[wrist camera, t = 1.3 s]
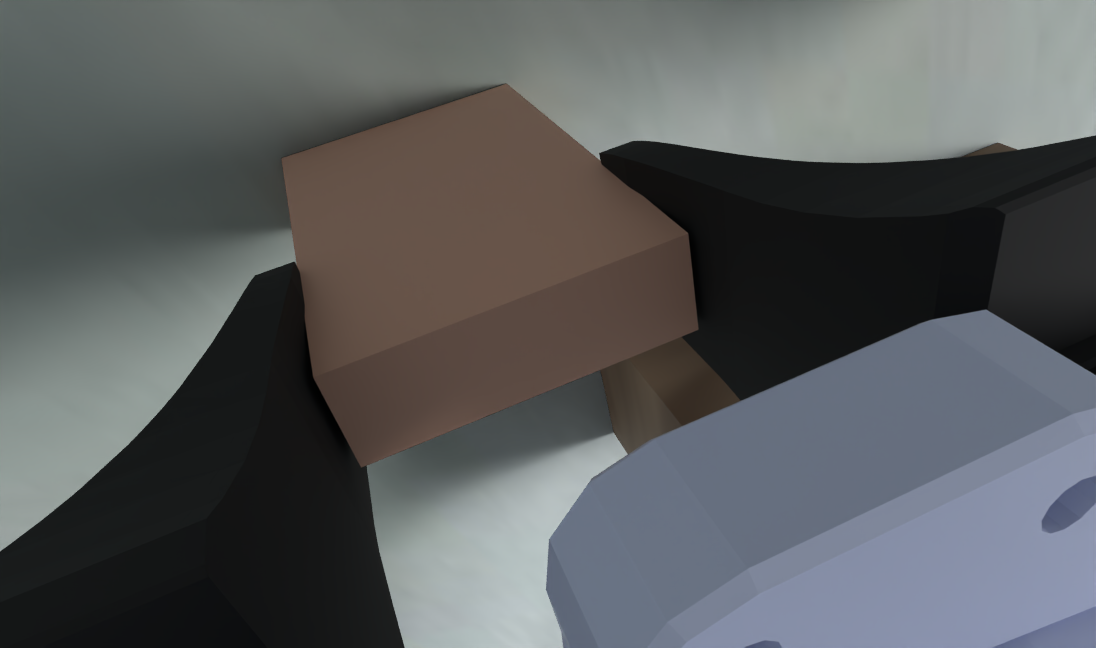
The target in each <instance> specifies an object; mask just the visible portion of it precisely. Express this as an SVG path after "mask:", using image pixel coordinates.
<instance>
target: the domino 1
mask: <svg viewBox="0 0 1096 648" xmlns="http://www.w3.org/2000/svg"><path fill="white" fill-rule="evenodd" d="M281 159H282V166H283V173H284V180H285V187H286V194H287V200H288V207H289V214H290V221H291V228H292V235H293V242H294V249H295V256H296V262H297V267H298V269H299V271H300V276H301V283H302V289H303V296H304V303H305V324H306V331H307V338H308V345H309V352H310V359H311V366H312V372H313V378H314V380H315V382H316V384H317V385H318V387H319V389H320V391H321V393H322V395H323V397H324V399H325V400H326V402H327V404H328V406H329V408H330V410H331V412H332V414H333V416H334V417H335V419H336V421H337V423H338V425H339V427H340V429H341V431H342V432H343V434H344V436H345V438H346V440H347V442H348V444H349V446H350V447H351V449H352V451H353V453H354V455H355V457H356V459H357V461H358V462H359V464H360V466H361V468H362V467H364V466H367V465H369V464H372V463H374V462H377V461H379V460H381V459H384V458H386V457H389V456H391V455H394V454H396V453H399V452H401V451H403V450H406V449H408V448H411V447H413V446H416V445H418V444H420V443H423V442H425V441H428V440H430V439H433V438H435V437H438V436H440V435H442V434H445V433H447V432H450V431H452V430H455V429H457V428H460V427H462V426H464V425H467V424H469V423H472V422H474V421H477V420H479V419H482V418H484V417H486V416H489V415H491V414H494V413H496V412H499V411H501V410H504V409H506V408H508V407H511V406H513V405H516V404H518V403H521V402H523V401H526V400H528V399H530V398H533V397H535V396H538V395H540V394H543V393H545V392H548V391H550V390H552V389H555V388H557V387H560V386H562V385H565V384H567V383H570V382H572V381H574V380H577V379H579V378H582V377H584V376H587V375H589V374H592V373H594V372H596V371H599V370H601V369H604V368H606V367H609V366H611V365H613V364H616V363H618V362H621V361H623V360H626V359H628V358H631V357H633V356H635V355H638V354H640V353H643V352H645V351H648V350H650V349H653V348H655V347H657V346H660V345H662V344H665V343H667V342H670V341H672V340H675V339H677V338H679V337H682V336H684V335H687V334H689V333H692V332H694V331H697V330H698V320H697V311H696V301H695V292H694V282H693V273H692V263H691V254H690V245H689V235H688V233H687V232H686V231H685V230H684V229H682V228H681V227H680V226H679V225H678V224H676V223H675V222H674V221H673V220H671V219H670V218H669V217H668V216H667V215H665V214H664V213H663V212H662V211H661V210H659V209H658V208H657V207H656V206H655V205H653V204H652V203H651V202H650V201H648V200H647V199H646V198H645V197H644V196H642V195H641V194H639V193H637V192H636V191H634V190H633V189H631V188H630V187H628V186H627V185H626V184H624V183H623V182H622V181H621V180H620V179H618V178H617V177H616V176H615V175H614V174H612V173H611V172H610V171H609V170H608V169H606V168H605V167H604V166H603V165H602V164H601V161H600V160H599V159H597V158H596V157H595V156H594V155H593V154H591V153H590V152H589V151H588V150H587V149H585V148H584V147H583V146H582V145H580V144H579V143H578V142H577V141H576V140H574V139H573V138H572V137H571V136H570V135H568V134H567V133H566V132H565V131H563V130H562V129H561V128H560V127H559V126H557V125H556V124H555V123H554V122H553V121H551V120H550V119H549V118H548V117H547V116H545V115H544V114H543V113H542V112H540V111H539V110H538V109H537V108H536V107H534V106H533V105H532V104H531V103H530V102H528V101H527V100H526V99H525V98H523V97H522V96H521V95H520V94H519V93H517V92H516V91H515V90H514V89H513V88H511V87H510V86H509V85H508V84H504V85H501V86H498V87H495V88H492V89H489V90H486V91H483V92H480V93H477V94H474V95H471V96H468V97H465V98H462V99H459V100H456V101H453V102H450V103H447V104H444V105H441V106H438V107H435V108H432V109H429V110H426V111H423V112H420V113H417V114H414V115H411V116H408V117H405V118H402V119H399V120H396V121H392V122H389V123H386V124H383V125H380V126H377V127H374V128H371V129H368V130H365V131H362V132H359V133H356V134H353V135H350V136H347V137H344V138H341V139H338V140H335V141H332V142H329V143H326V144H323V145H320V146H317V147H314V148H311V149H308V150H305V151H302V152H299V153H296V154H293V155H290V156H287V157H284V158H281Z"/></svg>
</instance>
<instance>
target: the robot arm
mask: <svg viewBox="0 0 1096 648" xmlns="http://www.w3.org/2000/svg"><path fill="white" fill-rule="evenodd" d="M599 154H600V160H601V164H602V165H603V166H604V167H605V168H606V169H608V170H609V171H610V172H611V173H612V174H614V175H615V176H616V177H617V178H618V179H620V180H621V181H622V182H623V183H624V184H626V185H627V186H628V187H630V188H631V189H633V190H634V191H636V192H637V193H639V194H641V195H642V196H644V197H645V198H646V199H647V200H648V201H650V202H651V203H652V204H653V205H655V206H656V207H657V208H658V209H659V210H661V211H662V212H663V213H664V214H665V215H667V216H668V217H669V218H670V219H671V220H673V221H674V222H675V223H676V224H678V225H679V226H680V227H681V228H682V229H684V230H685V231H686V232H687V233H688V235H689V245H690V254H691V263H692V273H693V282H694V292H695V301H696V311H697V320H698V330H697V331H694V332H692V333H689V334H687V335H684V336H682V338H683V339H684V340H685V341H686V342H687V343H688V344H689V345H690V346H691V347H692V349H693V350H694V351H695V352H696V353H697V354H698V355H699V356H700V357H701V358H702V359H703V360H704V361H705V362H706V363H707V364H708V365H709V366H710V367H711V368H712V369H713V370H714V371H715V372H716V373H717V374H718V375H719V376H720V377H721V379H722V380H723V381H724V382H725V383H726V384H727V385H728V387H729V388H730V389H731V390H732V391H733V392H734V393H735V395H736V396H737V397H738V398H739V399H740V401H739V402H737V403H735V404H732V405H730V406H728V407H725V408H723V409H721V410H718V411H716V412H714V413H711V414H709V415H707V416H705V417H702V418H700V419H698V420H695V421H693V422H691V423H688V424H686V425H684V426H681V427H679V428H677V429H674V430H672V431H670V432H668V433H665V434H663V435H661V436H658V437H656V438H654V439H651V440H649V441H648V442H646V443H645V444H643V445H642V446H640V447H639V448H637V449H636V450H634V451H633V452H631V453H630V454H628V455H627V456H625V457H624V458H622V459H621V460H619V461H617V462H616V463H614V464H613V465H611V466H610V467H608V468H607V469H605V470H604V471H602V472H601V473H599V474H598V475H596V476H595V477H593V478H592V479H591V481H590V482H589V483H588V485H587V486H586V488H585V489H584V491H583V492H582V493H581V495H580V496H579V498H578V499H577V501H576V502H575V503H574V505H573V506H572V508H571V509H570V511H569V512H568V513H567V515H566V516H565V518H564V519H563V520H562V522H561V523H560V525H559V526H558V528H557V529H556V530H555V532H554V533H553V535H552V536H551V538H550V539H549V550H548V567H547V583H546V591H547V593H548V596H549V599H550V602H551V604H552V607H553V610H554V613H555V616H556V618H557V621H558V624H559V627H560V629H561V632H562V640H563V648H1096V136H1091V137H1086V138H1080V139H1075V140H1070V141H1065V142H1059V143H1054V144H1049V145H1044V146H1038V147H1033V148H1028V149H1021V150H1014V151H1007V152H999V153H991V154H984V155H976V156H969V157H959V158H948V159H938V160H925V161H907V162H888V163H829V162H805V161H791V160H781V159H772V158H762V157H753V156H746V155H738V154H732V153H725V152H718V151H712V150H706V149H700V148H693V147H687V146H681V145H675V144H668V143H660V142H651V141H632V142H629V143H626V144H624V145H621V146H618V147H615V148H612V149H609V150H607V151H604V152H601V153H599ZM0 648H404V644H403V640H402V637H401V633H400V629H399V626H398V622H397V618H396V615H395V611H394V607H393V603H392V599H391V596H390V592H389V588H388V584H387V580H386V576H385V572H384V568H383V564H382V561H381V557H380V553H379V548H378V542H377V537H376V532H375V526H374V519H373V512H372V504H371V497H370V489H369V482H368V474H367V467H366V466H364V467H362V468H361V466H360V464H359V462H358V461H357V459H356V457H355V455H354V453H353V451H352V449H351V447H350V446H349V444H348V442H347V440H346V438H345V436H344V434H343V432H342V431H341V429H340V427H339V425H338V423H337V421H336V419H335V417H334V416H333V414H332V412H331V410H330V408H329V406H328V404H327V402H326V400H325V399H324V397H323V395H322V393H321V391H320V389H319V387H318V385H317V384H316V382H315V380H314V378H313V372H312V366H311V359H310V352H309V345H308V338H307V331H306V324H305V303H304V296H303V289H302V283H301V276H300V271H299V269H298V267H297V265H296V263H295V262H292V263H289V264H286V265H283V266H281V267H278V268H275V269H272V270H269V271H266V272H264V273H261V274H258V275H255V276H254V278H253V279H252V280H251V282H250V283H249V285H248V286H247V288H246V289H245V291H244V292H243V294H242V296H241V297H240V299H239V301H238V302H237V304H236V306H235V307H234V309H233V311H232V312H231V314H230V315H229V317H228V319H227V320H226V322H225V323H224V325H223V326H222V328H221V330H220V331H219V333H218V334H217V336H216V337H215V339H214V341H213V342H212V344H211V345H210V347H209V348H208V349H207V351H206V352H205V353H204V355H203V356H202V358H201V359H200V360H199V362H198V363H197V364H196V366H195V367H194V369H193V370H192V371H191V373H190V374H189V375H188V377H187V378H186V380H185V381H184V382H183V384H182V385H181V386H180V388H179V389H178V390H177V391H176V393H175V394H174V395H173V396H172V398H171V399H170V400H169V401H168V402H167V403H166V405H165V406H164V407H163V408H162V409H161V410H160V412H159V413H158V414H157V415H156V416H155V417H154V418H153V419H152V420H151V421H150V422H149V424H148V425H147V426H146V427H145V428H144V429H143V430H142V431H141V432H140V433H139V434H138V435H137V436H136V437H135V438H134V439H133V440H132V441H131V442H130V443H129V445H127V446H126V447H125V448H124V449H123V450H122V451H121V452H120V453H119V454H118V455H117V456H115V457H114V458H113V459H112V460H111V461H110V462H109V463H108V464H107V465H106V466H105V467H104V468H102V469H101V470H100V471H99V472H98V473H97V474H96V475H95V476H94V477H93V478H92V479H90V480H89V481H88V482H87V483H86V484H85V485H84V486H83V487H82V488H81V489H80V490H78V491H77V492H76V493H75V494H74V495H72V496H71V497H70V498H69V499H68V500H66V501H65V502H64V503H63V504H61V505H60V506H59V507H58V508H56V509H55V510H54V511H53V512H52V513H50V514H49V515H48V516H47V517H45V518H44V519H43V520H42V521H40V522H39V523H38V524H36V525H35V526H34V527H32V528H31V529H30V530H28V531H27V532H26V533H24V534H23V535H22V536H20V537H19V538H18V539H16V540H15V541H14V542H12V543H11V544H10V545H9V546H7V547H6V548H4V549H3V550H2V551H0Z"/></svg>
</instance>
